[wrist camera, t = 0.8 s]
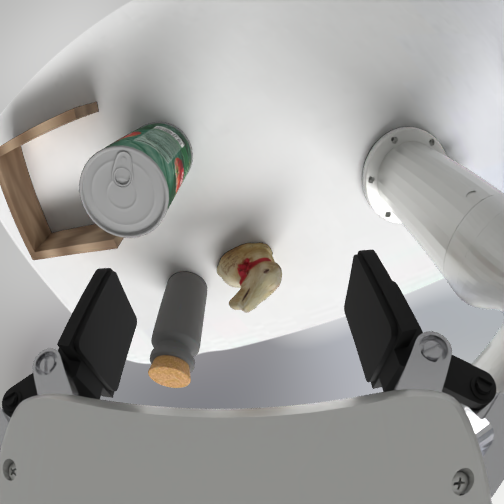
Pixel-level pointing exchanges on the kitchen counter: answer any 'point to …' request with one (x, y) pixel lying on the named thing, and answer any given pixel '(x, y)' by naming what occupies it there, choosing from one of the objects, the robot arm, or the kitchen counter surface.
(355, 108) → the kitchen counter surface
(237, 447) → the robot arm
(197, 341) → the bottle
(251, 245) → the chocolate bunny
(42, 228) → the box
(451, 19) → the kitchen counter surface
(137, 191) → the canned tomato
